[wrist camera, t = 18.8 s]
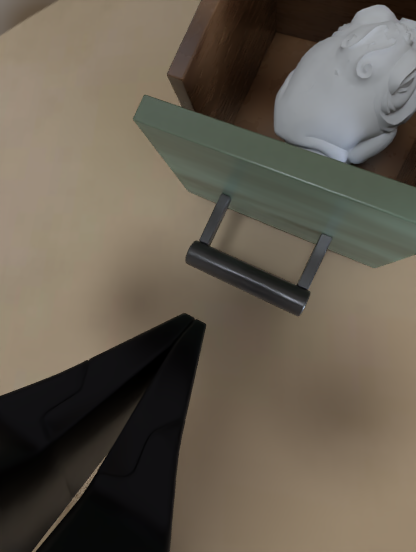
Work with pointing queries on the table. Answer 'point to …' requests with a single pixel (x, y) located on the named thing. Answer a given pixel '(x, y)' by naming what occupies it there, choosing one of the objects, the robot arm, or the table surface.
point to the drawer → (276, 145)
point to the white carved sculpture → (351, 88)
